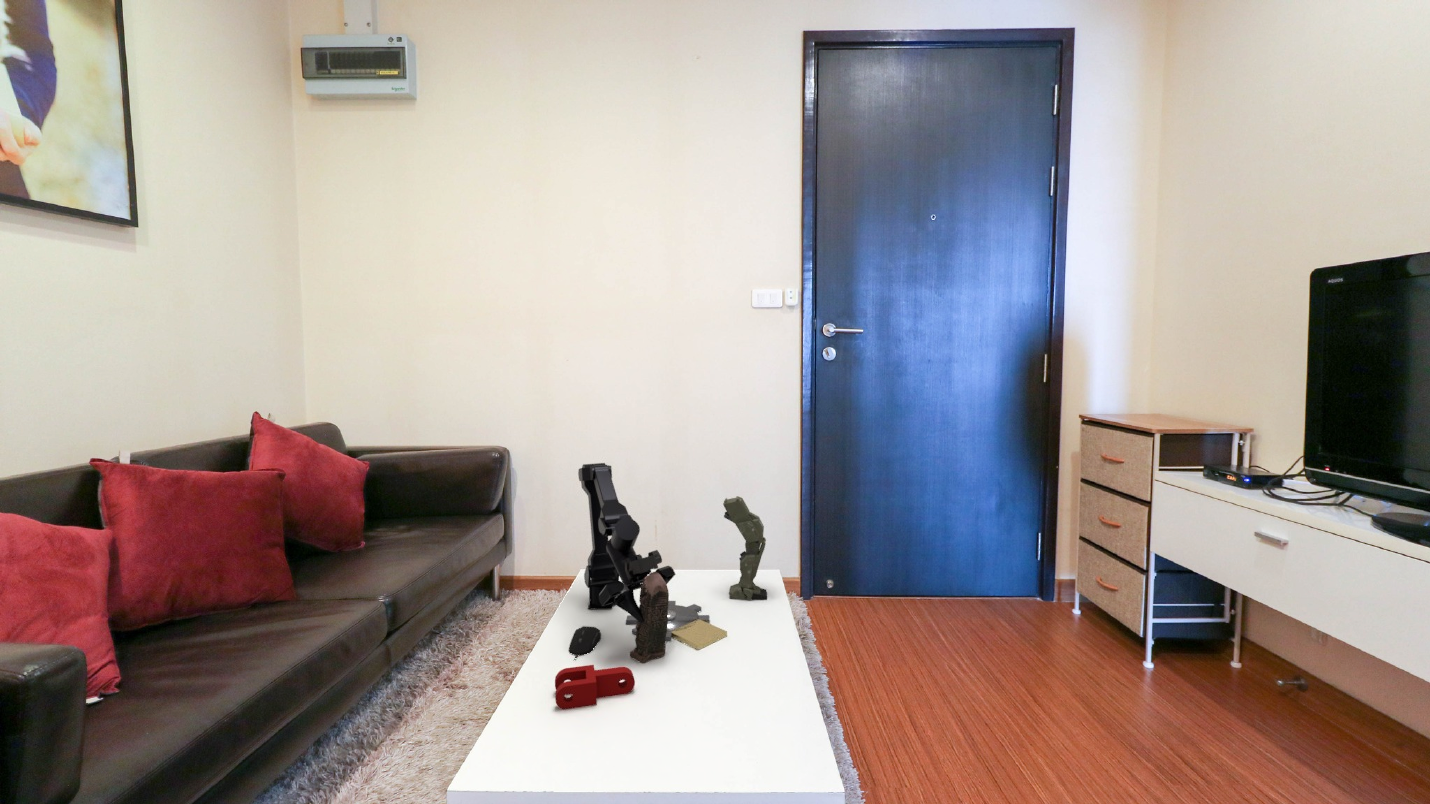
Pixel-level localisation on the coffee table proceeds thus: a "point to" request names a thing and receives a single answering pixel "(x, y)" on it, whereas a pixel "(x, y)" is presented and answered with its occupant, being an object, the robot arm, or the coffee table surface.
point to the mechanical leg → (747, 549)
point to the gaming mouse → (584, 640)
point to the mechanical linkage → (590, 685)
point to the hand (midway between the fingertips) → (653, 618)
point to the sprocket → (687, 626)
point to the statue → (652, 619)
